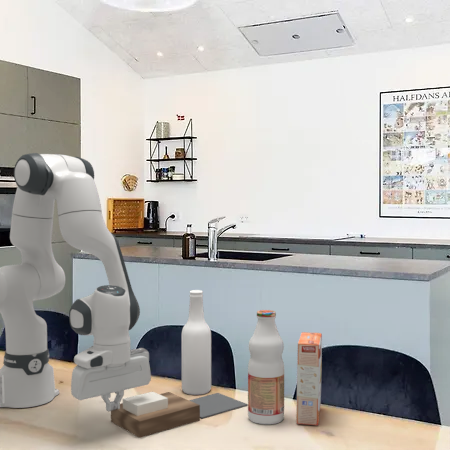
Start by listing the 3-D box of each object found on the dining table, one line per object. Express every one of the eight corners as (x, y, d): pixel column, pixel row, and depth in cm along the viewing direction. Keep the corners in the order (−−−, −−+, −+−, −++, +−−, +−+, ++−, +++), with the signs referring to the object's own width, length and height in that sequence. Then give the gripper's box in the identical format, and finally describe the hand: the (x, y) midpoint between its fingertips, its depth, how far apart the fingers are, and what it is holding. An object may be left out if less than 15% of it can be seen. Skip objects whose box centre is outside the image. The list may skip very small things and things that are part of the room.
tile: (122, 408, 151) (122, 398, 150) (152, 400, 156) (152, 391, 156) (137, 415, 145) (137, 405, 145) (167, 407, 151) (167, 398, 151)
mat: (172, 405, 164) (172, 404, 164) (217, 394, 174) (217, 392, 174) (201, 418, 154) (201, 417, 154) (247, 405, 164) (247, 404, 164)
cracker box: (319, 426, 149) (320, 343, 148) (295, 425, 150) (296, 342, 149) (322, 408, 162) (322, 332, 162) (299, 406, 164) (300, 331, 163)
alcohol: (217, 391, 177) (217, 291, 176) (194, 397, 171) (193, 293, 170) (198, 384, 184) (198, 287, 183) (175, 390, 178) (175, 290, 177)
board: (110, 421, 152) (110, 406, 152) (169, 406, 164) (168, 391, 164) (139, 437, 142) (139, 421, 142) (199, 420, 153) (199, 405, 153)
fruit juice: (259, 427, 148) (259, 316, 147) (241, 415, 157) (241, 310, 156) (291, 421, 152) (291, 313, 151) (272, 410, 161) (272, 307, 160)
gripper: (141, 344, 153) (142, 397, 154) (67, 357, 140) (68, 415, 141) (155, 348, 148) (156, 403, 149) (79, 363, 135) (80, 423, 136)
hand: (112, 409), depth 145 cm, fingers closed
